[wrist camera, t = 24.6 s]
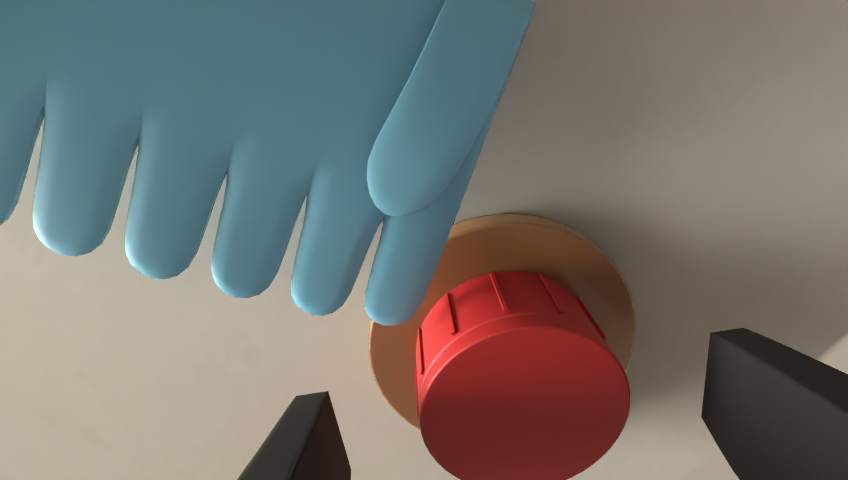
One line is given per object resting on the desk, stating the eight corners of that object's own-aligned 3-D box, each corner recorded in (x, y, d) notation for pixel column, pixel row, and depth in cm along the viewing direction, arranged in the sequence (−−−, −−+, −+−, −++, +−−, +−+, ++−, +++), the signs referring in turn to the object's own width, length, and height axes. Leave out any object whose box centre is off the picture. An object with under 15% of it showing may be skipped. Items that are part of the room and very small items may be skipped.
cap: (606, 273, 10) (655, 330, 8) (571, 416, 12) (606, 493, 10) (421, 265, 10) (427, 323, 8) (410, 413, 11) (413, 491, 9)
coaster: (678, 305, 11) (692, 319, 11) (511, 462, 13) (516, 481, 12) (479, 157, 10) (484, 164, 9) (320, 360, 11) (316, 376, 11)
